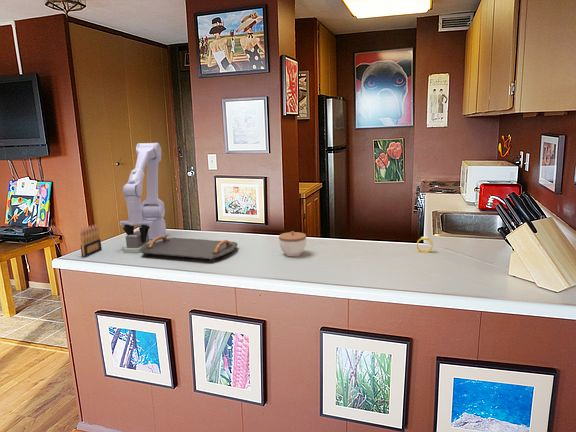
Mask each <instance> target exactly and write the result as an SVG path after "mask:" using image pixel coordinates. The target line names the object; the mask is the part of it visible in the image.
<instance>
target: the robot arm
mask: <svg viewBox="0 0 576 432" xmlns="http://www.w3.org/2000/svg"><path fill="white" fill-rule="evenodd" d="M135 153H136V156H137V158H136V162H135V167H134V169H131V171H130V174H129V178H128V181H127V182H126V184H124V185H123V187H122V194H123V197H124V201H125V202H126V206H127V207H126V208H127V217H128V220H121V221H119V227H123V228H122V230H123V231H124V232H125V233H126V236H128V235H130V234H132V233H134V231H135V227H138V229H139V230H138V231H140V233H141V240H142V243H144V242H146V237H147V233H148V234H149V240H153V239H154V238H156V237H158V236H165V237H167V236H168V235H169V233H167V225H166V220H165V219H164V217H165V214H166V209H165V203H164V201H162V200H161V198H159V163H160V162H161V161H162V147H161V145H160V143H159V142H143V143H140V142H138V143H137V144H136V146H135ZM146 166H147V167H146ZM145 168H146V174H147V175H146V174H145V172H144V171H145ZM145 176H146V198H145V199H144V200H143V201H142V199H141V197H142V194H143V187H144V186H143V182H144V179H145Z"/></svg>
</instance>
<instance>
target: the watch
mask: <svg viewBox="0 0 576 432" xmlns="http://www.w3.org/2000/svg"><path fill="white" fill-rule="evenodd" d="M421 241H429V242H430V245H431V247H430V249H428V250H421V249H420V247H419V243H420V242H421ZM433 248H434V247H433V242H432V240H431V239H430V238H429V237H428V236H421V237H420V238H419V239H418V240H417V242H416V249H417V250H418V251H419V252H420V253H429V252H431V251H432V249H433Z"/></svg>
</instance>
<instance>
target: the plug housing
mask: <svg viewBox="0 0 576 432" xmlns="http://www.w3.org/2000/svg"><path fill="white" fill-rule="evenodd" d="M149 241H150V239H149V234H148V233H147V237H146V242H144V243H142V240H141V233H140V230H137V231H135V232H134V233H132V234H130V235H126V236H125V244H126V247H127V248H139V247H141V246H143V245H145V244H146V243H148V242H149Z"/></svg>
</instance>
